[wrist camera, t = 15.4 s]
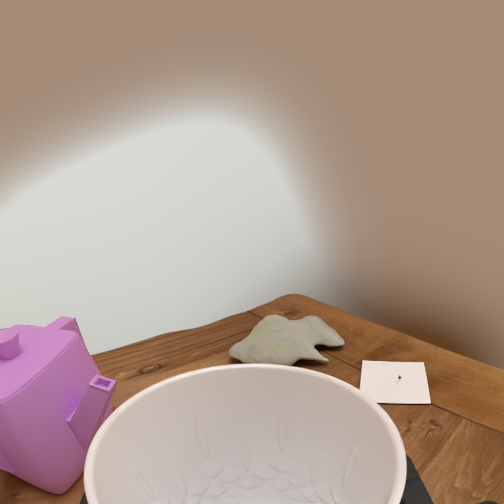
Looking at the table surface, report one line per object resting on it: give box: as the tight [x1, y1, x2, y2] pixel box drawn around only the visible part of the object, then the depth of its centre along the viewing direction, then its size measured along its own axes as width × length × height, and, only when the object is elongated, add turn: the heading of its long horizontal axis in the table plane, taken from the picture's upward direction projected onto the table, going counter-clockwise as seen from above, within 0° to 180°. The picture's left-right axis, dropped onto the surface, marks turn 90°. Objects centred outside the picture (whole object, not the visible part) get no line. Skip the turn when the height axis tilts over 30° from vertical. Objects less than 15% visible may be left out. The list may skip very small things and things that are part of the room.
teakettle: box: [0, 317, 117, 495], centre depth 20 cm, size 17×17×12 cm
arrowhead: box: [229, 315, 344, 366], centre depth 39 cm, size 12×3×15 cm
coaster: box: [360, 361, 431, 404], centre depth 30 cm, size 8×8×1 cm
